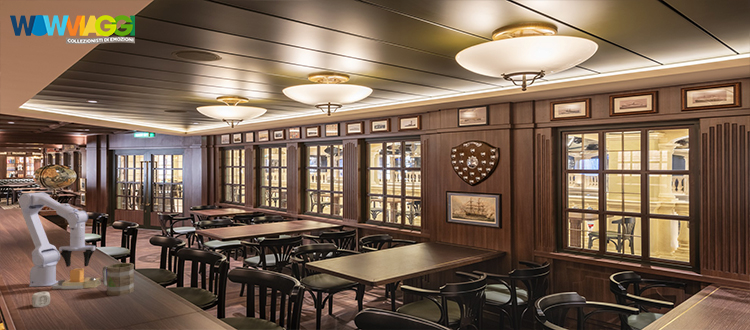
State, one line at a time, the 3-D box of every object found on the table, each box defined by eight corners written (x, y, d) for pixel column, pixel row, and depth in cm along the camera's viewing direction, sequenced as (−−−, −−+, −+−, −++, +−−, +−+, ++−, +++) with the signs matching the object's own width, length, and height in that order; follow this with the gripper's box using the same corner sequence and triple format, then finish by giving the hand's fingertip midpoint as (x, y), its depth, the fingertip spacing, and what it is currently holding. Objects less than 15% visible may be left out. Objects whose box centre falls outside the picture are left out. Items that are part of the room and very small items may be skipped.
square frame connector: (50, 289, 199) (50, 281, 199) (60, 284, 207) (60, 277, 207) (94, 288, 202) (94, 280, 202) (102, 283, 210) (102, 275, 210)
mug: (139, 290, 200) (139, 263, 199) (118, 297, 189) (119, 269, 189) (113, 286, 205) (114, 261, 205) (92, 293, 194) (92, 266, 194)
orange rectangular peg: (70, 288, 202) (70, 270, 202) (74, 285, 206) (74, 268, 206) (79, 287, 203) (79, 270, 202) (83, 285, 206) (83, 268, 206)
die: (46, 302, 181) (46, 290, 181) (50, 305, 178) (50, 293, 178) (31, 305, 177) (31, 293, 177) (35, 308, 174) (35, 295, 174)
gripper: (55, 238, 199) (55, 268, 200) (90, 238, 202) (90, 267, 202) (63, 236, 206) (63, 265, 207) (97, 235, 209) (97, 264, 209)
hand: (77, 266), depth 205 cm, fingers open, 7 cm apart
